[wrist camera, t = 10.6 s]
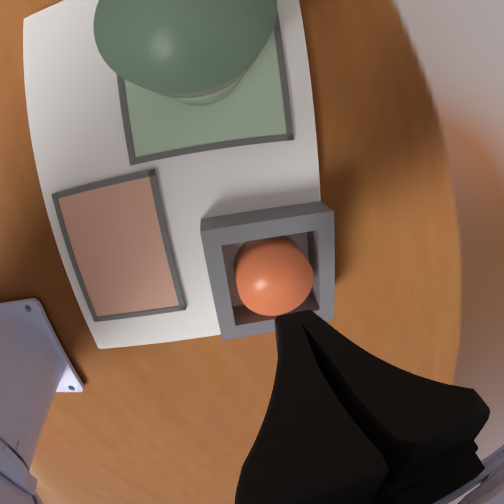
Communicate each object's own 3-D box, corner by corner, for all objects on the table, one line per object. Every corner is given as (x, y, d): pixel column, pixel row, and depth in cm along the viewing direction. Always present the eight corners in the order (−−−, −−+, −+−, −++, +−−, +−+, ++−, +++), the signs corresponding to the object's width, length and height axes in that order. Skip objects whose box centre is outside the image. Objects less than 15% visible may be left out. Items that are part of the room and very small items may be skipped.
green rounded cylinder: (166, 116, 13) (106, 113, 5) (152, 40, 11) (88, -31, 4) (250, 99, 13) (292, 73, 5) (236, 23, 11) (259, -68, 4)
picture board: (101, 343, 18) (91, 368, 16) (28, 21, 10) (7, 11, 7) (319, 309, 19) (333, 333, 17) (288, -34, 11) (301, -54, 8)
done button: (238, 299, 17) (242, 321, 15) (228, 238, 15) (232, 255, 14) (303, 288, 17) (314, 308, 15) (299, 227, 16) (312, 241, 14)
